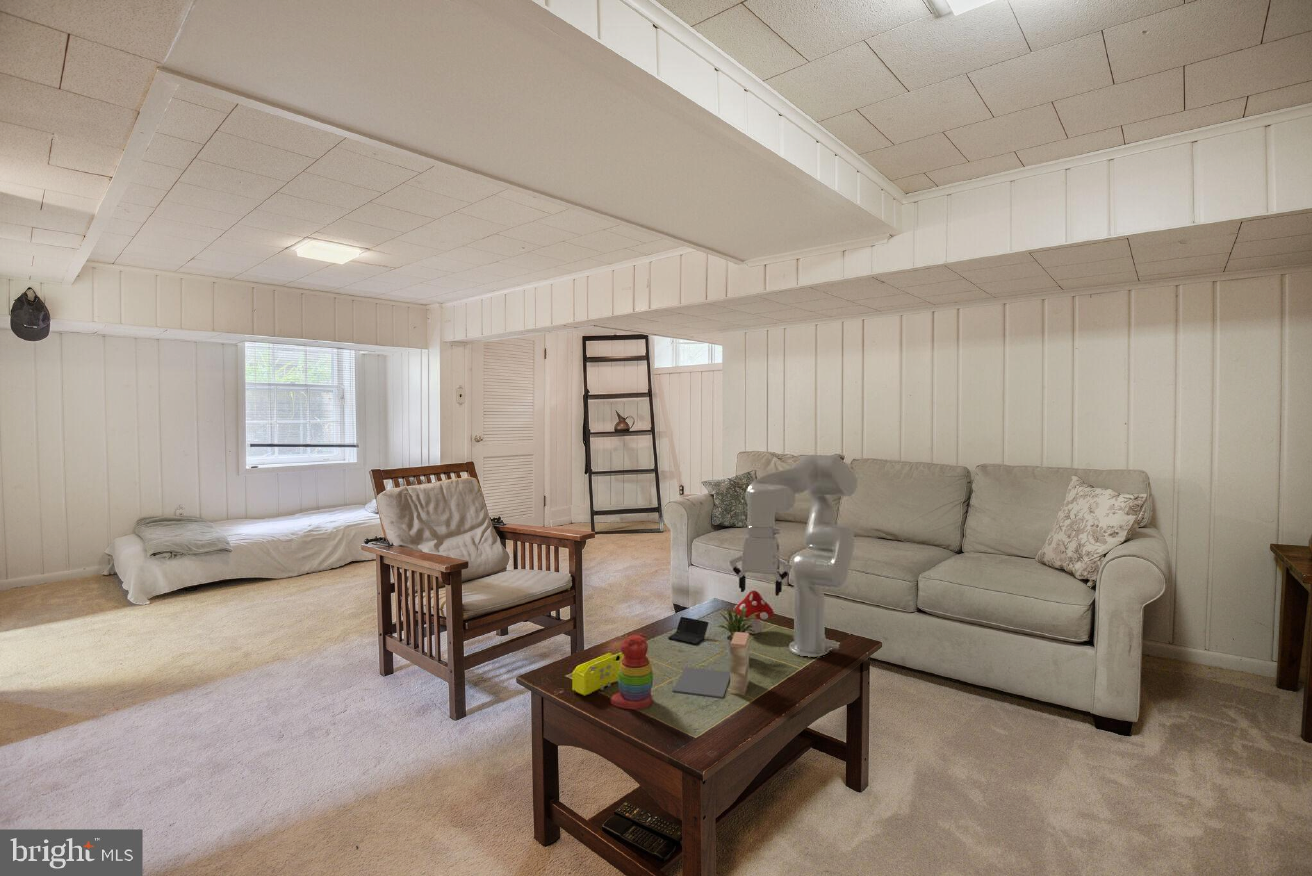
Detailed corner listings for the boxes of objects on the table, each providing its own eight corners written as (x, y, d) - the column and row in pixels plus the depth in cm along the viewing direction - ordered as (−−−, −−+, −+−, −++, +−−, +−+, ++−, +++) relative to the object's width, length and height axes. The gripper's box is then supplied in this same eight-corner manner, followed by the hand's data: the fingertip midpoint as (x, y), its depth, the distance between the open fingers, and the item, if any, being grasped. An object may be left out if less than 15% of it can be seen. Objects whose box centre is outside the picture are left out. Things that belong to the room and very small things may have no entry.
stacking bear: (633, 688, 171) (633, 626, 171) (661, 699, 165) (661, 634, 164) (606, 702, 163) (606, 637, 162) (635, 714, 157) (635, 646, 156)
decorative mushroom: (781, 638, 209) (781, 594, 208) (743, 642, 205) (744, 598, 205) (763, 624, 223) (763, 583, 222) (728, 627, 219) (728, 586, 218)
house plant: (760, 670, 183) (760, 616, 182) (714, 666, 186) (714, 613, 185) (761, 652, 197) (762, 602, 196) (718, 648, 200) (719, 599, 199)
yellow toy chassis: (585, 699, 166) (585, 668, 165) (571, 692, 169) (571, 663, 169) (627, 679, 177) (627, 651, 177) (613, 674, 181) (613, 646, 181)
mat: (731, 673, 181) (731, 672, 181) (722, 698, 166) (722, 696, 166) (685, 668, 185) (685, 666, 185) (672, 691, 169) (672, 690, 169)
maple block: (748, 680, 176) (749, 633, 176) (744, 695, 168) (745, 644, 167) (735, 679, 177) (735, 631, 177) (730, 693, 169) (730, 643, 168)
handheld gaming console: (666, 637, 206) (675, 609, 211) (670, 643, 212) (680, 616, 217) (698, 647, 202) (707, 618, 206) (701, 653, 207) (710, 625, 212)
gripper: (794, 531, 171) (793, 592, 172) (733, 527, 177) (732, 586, 178) (790, 536, 164) (789, 599, 165) (727, 532, 170) (726, 593, 171)
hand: (760, 592), depth 171 cm, fingers open, 9 cm apart
